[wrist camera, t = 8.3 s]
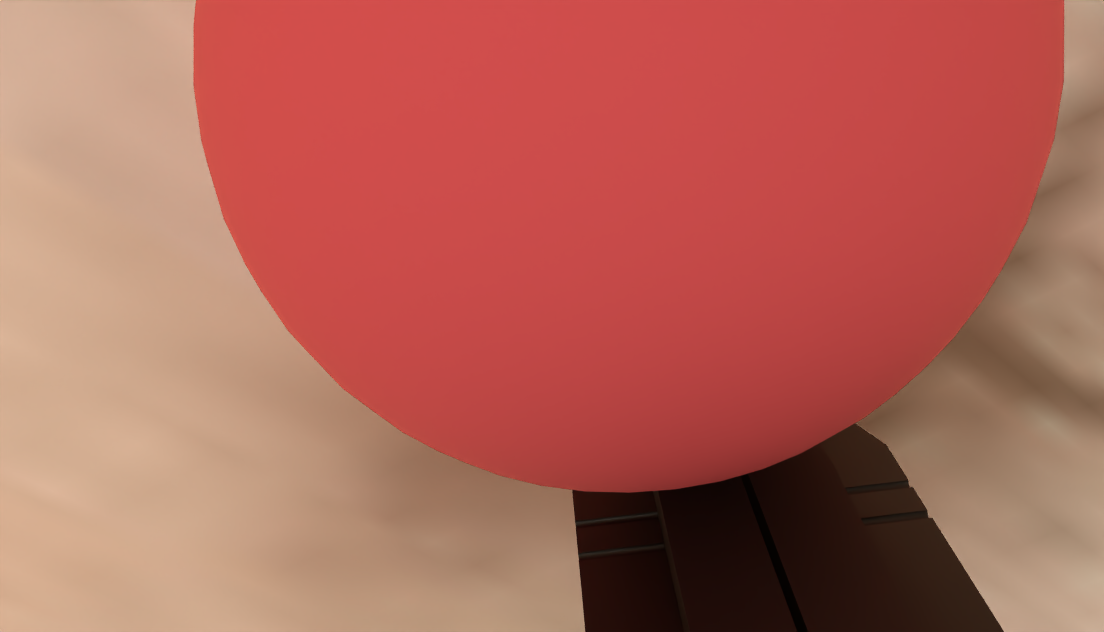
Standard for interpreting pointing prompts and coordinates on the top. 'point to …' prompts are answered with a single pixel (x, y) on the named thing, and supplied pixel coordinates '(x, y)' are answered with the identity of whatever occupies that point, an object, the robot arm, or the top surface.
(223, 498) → the top surface
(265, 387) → the top surface
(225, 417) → the top surface
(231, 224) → the ball
